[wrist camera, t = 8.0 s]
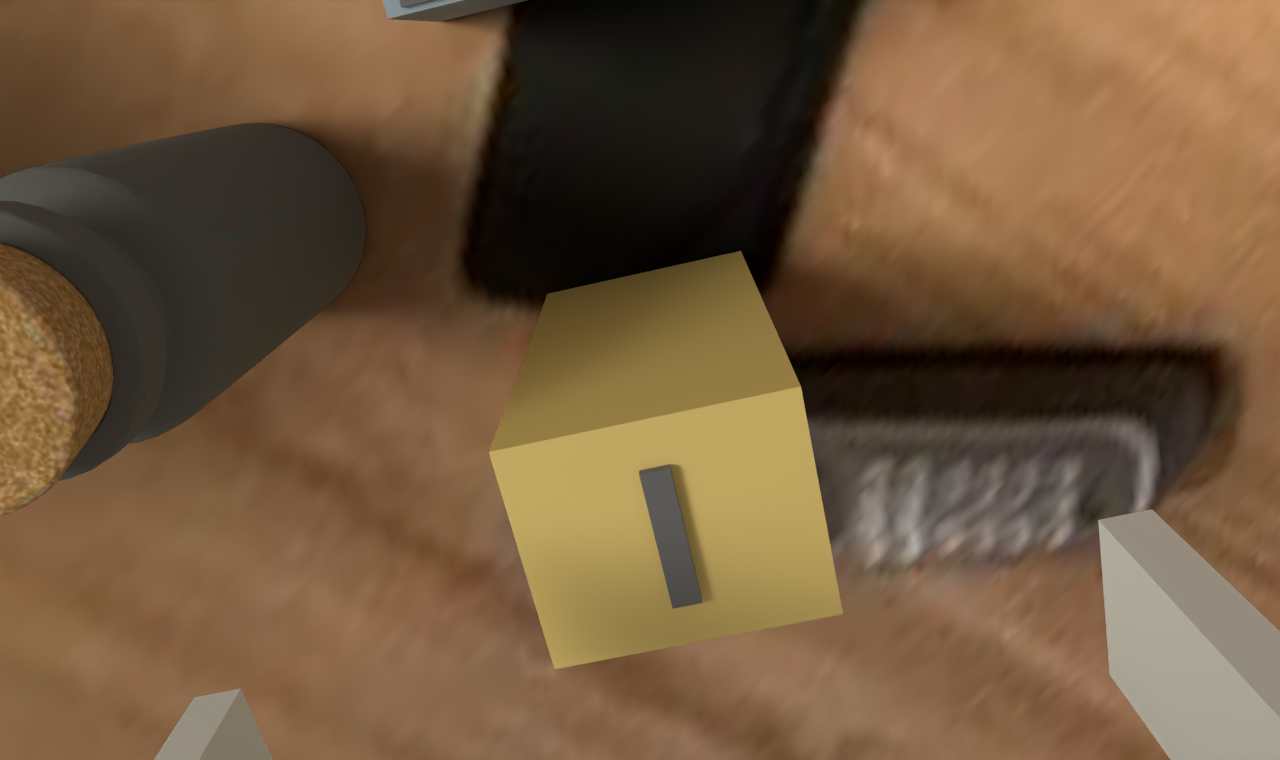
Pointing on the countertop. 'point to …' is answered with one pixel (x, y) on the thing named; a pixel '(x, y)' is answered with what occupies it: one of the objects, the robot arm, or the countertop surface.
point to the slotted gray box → (439, 8)
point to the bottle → (156, 286)
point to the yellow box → (662, 467)
